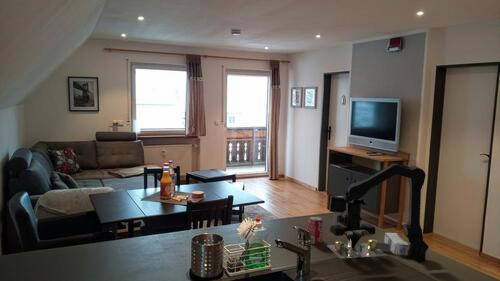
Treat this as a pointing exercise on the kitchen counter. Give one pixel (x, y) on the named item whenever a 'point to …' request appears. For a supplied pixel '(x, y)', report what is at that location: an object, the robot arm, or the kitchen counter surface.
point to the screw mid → (357, 247)
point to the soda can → (315, 229)
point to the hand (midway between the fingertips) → (351, 248)
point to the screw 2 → (377, 245)
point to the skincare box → (334, 221)
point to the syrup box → (396, 244)
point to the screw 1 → (341, 248)
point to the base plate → (354, 253)
